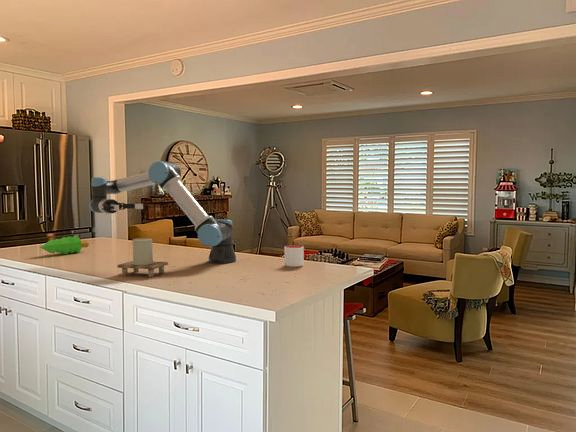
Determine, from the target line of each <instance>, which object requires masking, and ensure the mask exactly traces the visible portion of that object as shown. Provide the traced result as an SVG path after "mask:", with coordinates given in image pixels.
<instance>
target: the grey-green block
mask: <svg viewBox="0 0 576 432" xmlns="http://www.w3.org/2000/svg"><path fill="white" fill-rule="evenodd" d="M153 255H154V254H153V238H151V237H150V238H149V237H148V238H144V237H143V238H133V239H132V261H133V264H134V265H148V264H152V263H153V261H154V260H153V258H154V257H153Z"/></svg>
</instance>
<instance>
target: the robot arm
mask: <svg viewBox="0 0 576 432" xmlns="http://www.w3.org/2000/svg"><path fill="white" fill-rule="evenodd" d="M181 176H182V170H181V168H180V166H179V165H178V164H177V163H175V162H172V161H165V160H164V161H163V160H158V161H155V162H152V163H151V165H150V166H149V167H148V171H147V172H143V173H142V172H141V173H139V174H134V175H130V176H126V177H122V178H118V179H113V180H107V178H106V177H104V176H103V177H102V176H101V177H100V176H96V177H92V178H91V200H90V201H89V204H88V207H89V209H90V210H91V211H92V212H93V213H97V214H99V213H101V214H105V215H107V214H115V213H117V212H118V211H121V210H126V209H129V210H130V209H135V210H144V203H139V202H135V203H125V202H118V201H117V200H115V199H112V198H110V199H109V198H108V195H117V194H121V193H123V192H127V191H132V190H136V189H141V188H145V187H149V186H153V185H157V186H159V187H160V189H161V190H162V191H163V192H167V193H168V194H169V195H170V197H171V198H172V199H173V200H174V201H175V202H176V204H177V205H178V206H179V208H180V209H181V210H182V212H183V213H184V214H185V215H186V217H188V219H189V220H190V221H191V223H192V224H193V225H194V231H195V232H196V233H197V238H198V241H199V242H200V244H202V245H204V246H205V247H211V248H210V252H209V255H208V262H209V263H213V264H229V263H230V264H231V263H234V262H236V261H237V255H236V252H235V250H234V242H233V241H234V239H233V238H234V236H233V234H234V229H233V228H234V225H233V220H231V219H222V218H221V219H217V218H214V216H213V215H209V214H207V212H206V211H205V210H204V208H203V207H202V206H201V205H200V204H199V202H198V201H197V200H196V199H195V198H194V196H193V195H192V194H191V192H190V191H189V190H188V188H186V187H185V185H184V184H183V182H182V181H181Z"/></svg>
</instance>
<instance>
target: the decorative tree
mask: <svg viewBox="0 0 576 432" xmlns="http://www.w3.org/2000/svg"><path fill="white" fill-rule="evenodd" d="M89 244H90V243H89V241H88V240H87V239H86V240H85V239H83V240H81V239H80V237H79V236H76V235H74V236H67V237H66V236H64V237H62V238H56V239H50V240H49V241H47V242H46V243H44V244H43V245H41V246H39V249H41V250H43V251H46V252H48V253H50V254H55V253H56V254H57V253H59V254H62V255H66V254H67V255H68V254H74V253H78V254H80V252H81V250H82V249H83V248H88V247H89Z"/></svg>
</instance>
